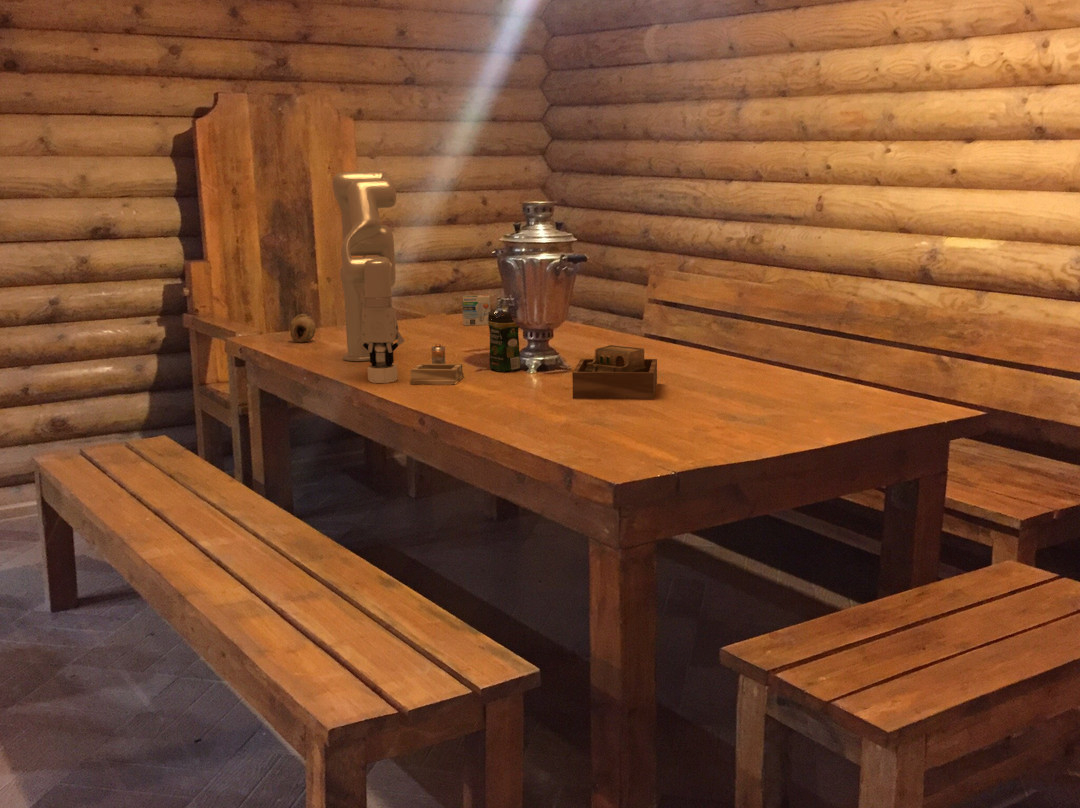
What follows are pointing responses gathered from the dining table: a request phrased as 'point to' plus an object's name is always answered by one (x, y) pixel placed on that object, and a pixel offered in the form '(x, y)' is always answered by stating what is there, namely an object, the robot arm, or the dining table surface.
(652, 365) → the open brown storage box
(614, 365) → the miniature house
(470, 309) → the light bulb box
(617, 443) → the dining table surface
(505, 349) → the coffee jar
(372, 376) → the beige piece
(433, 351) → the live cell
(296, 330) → the tan rounded piece
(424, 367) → the tray
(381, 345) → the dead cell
